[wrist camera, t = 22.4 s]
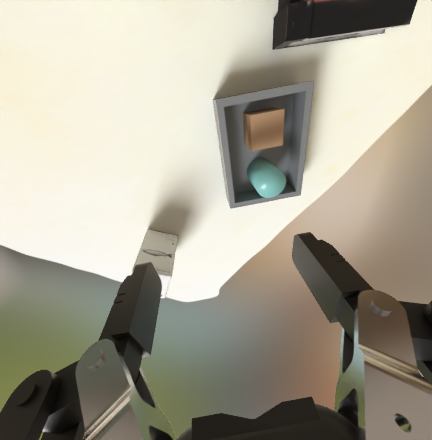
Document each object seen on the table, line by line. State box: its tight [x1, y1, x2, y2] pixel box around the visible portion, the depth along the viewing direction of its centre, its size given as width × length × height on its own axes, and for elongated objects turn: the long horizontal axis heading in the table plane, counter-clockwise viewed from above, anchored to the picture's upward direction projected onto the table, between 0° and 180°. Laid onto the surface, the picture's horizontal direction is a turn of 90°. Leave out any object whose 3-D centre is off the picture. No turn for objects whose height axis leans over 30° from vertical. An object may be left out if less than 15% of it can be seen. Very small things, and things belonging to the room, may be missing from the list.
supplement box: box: [132, 229, 178, 298], centre depth 40 cm, size 7×7×13 cm
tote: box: [213, 81, 314, 209], centre depth 32 cm, size 18×14×5 cm
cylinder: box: [247, 158, 286, 198], centre depth 33 cm, size 5×5×7 cm
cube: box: [243, 108, 285, 151], centre depth 29 cm, size 5×5×5 cm
